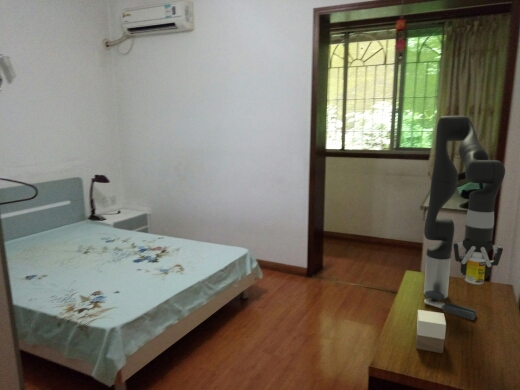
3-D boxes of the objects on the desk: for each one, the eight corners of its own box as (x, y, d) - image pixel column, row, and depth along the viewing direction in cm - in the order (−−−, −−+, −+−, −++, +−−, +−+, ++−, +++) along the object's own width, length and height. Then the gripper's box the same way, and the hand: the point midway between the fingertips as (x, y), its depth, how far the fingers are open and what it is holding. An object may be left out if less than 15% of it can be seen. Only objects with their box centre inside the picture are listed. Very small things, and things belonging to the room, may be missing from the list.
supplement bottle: (478, 286, 122) (481, 254, 120) (460, 280, 126) (463, 250, 125) (487, 282, 125) (490, 251, 123) (470, 276, 129) (473, 247, 128)
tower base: (416, 336, 135) (417, 323, 135) (441, 341, 132) (442, 327, 132) (416, 348, 128) (417, 334, 127) (442, 353, 125) (444, 339, 124)
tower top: (416, 323, 134) (417, 309, 134) (442, 327, 132) (443, 313, 131) (417, 334, 127) (418, 320, 126) (444, 339, 124) (446, 324, 123)
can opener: (421, 306, 158) (422, 291, 157) (426, 302, 162) (427, 287, 160) (473, 322, 145) (474, 306, 144) (477, 317, 149) (478, 301, 148)
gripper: (503, 223, 123) (498, 274, 126) (453, 219, 128) (448, 268, 131) (508, 229, 116) (502, 283, 119) (454, 225, 122) (450, 276, 125)
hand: (474, 275), depth 125 cm, fingers closed on supplement bottle, 5 cm apart
